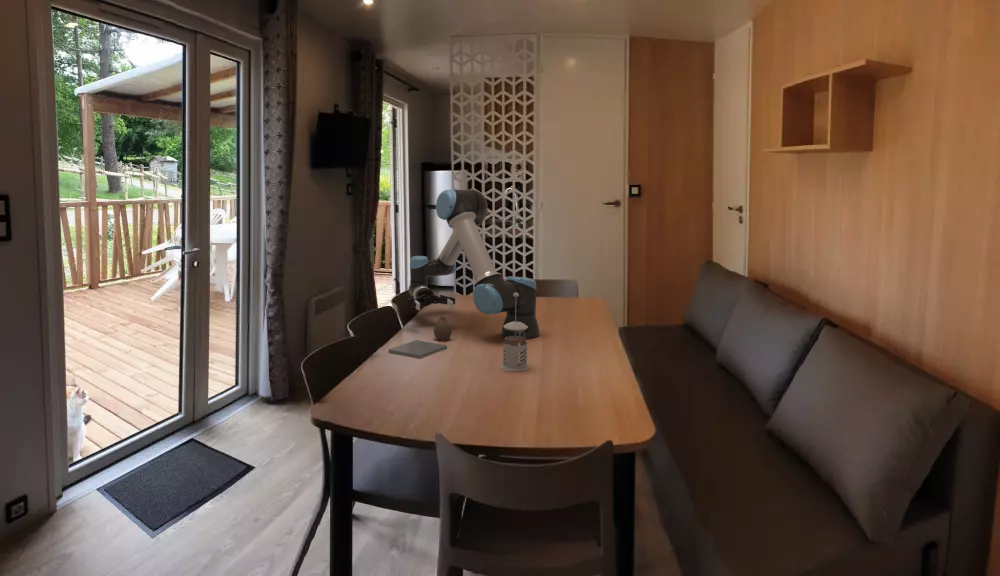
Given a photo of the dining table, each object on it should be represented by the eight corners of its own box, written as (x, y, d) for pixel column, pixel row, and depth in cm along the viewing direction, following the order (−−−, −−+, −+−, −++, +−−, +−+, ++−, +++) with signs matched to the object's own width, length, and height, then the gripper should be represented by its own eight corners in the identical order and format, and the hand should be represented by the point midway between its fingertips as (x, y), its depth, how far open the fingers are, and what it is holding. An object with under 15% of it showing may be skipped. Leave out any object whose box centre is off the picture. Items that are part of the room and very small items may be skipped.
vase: (448, 342, 244) (449, 319, 242) (431, 341, 245) (431, 318, 244) (453, 338, 250) (453, 316, 249) (436, 337, 252) (436, 315, 250)
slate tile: (446, 348, 235) (446, 345, 235) (420, 358, 221) (420, 355, 221) (416, 343, 242) (416, 340, 242) (388, 352, 228) (388, 349, 228)
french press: (495, 369, 210) (496, 293, 206) (508, 360, 221) (509, 288, 217) (523, 372, 207) (525, 296, 203) (535, 363, 217) (537, 290, 213)
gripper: (451, 303, 280) (465, 313, 260) (394, 305, 272) (404, 316, 252) (452, 286, 279) (466, 295, 259) (394, 288, 270) (404, 298, 251)
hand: (435, 306), depth 255 cm, fingers open, 13 cm apart
